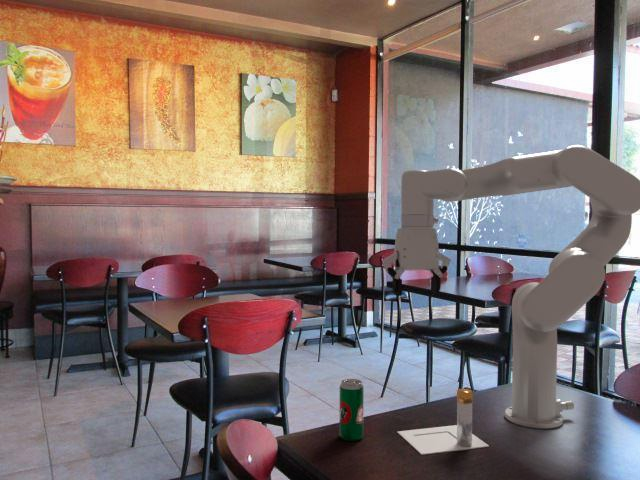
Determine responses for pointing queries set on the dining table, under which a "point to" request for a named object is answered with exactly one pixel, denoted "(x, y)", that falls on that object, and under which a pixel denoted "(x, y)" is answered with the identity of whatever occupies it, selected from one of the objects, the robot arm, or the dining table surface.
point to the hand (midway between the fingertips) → (416, 294)
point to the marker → (464, 417)
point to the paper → (437, 440)
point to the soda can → (351, 409)
